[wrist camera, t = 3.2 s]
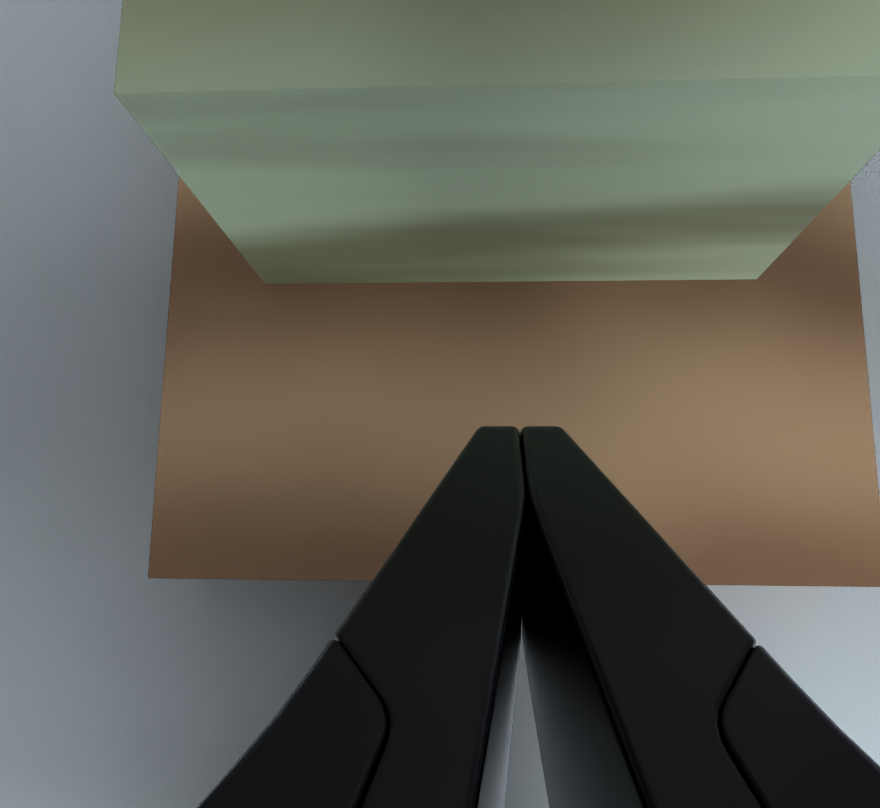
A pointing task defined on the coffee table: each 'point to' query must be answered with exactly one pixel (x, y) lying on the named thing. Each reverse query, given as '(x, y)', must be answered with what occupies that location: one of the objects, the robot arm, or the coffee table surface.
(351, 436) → the tan square tile
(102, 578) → the coffee table surface
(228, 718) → the coffee table surface
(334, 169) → the block
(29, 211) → the coffee table surface
